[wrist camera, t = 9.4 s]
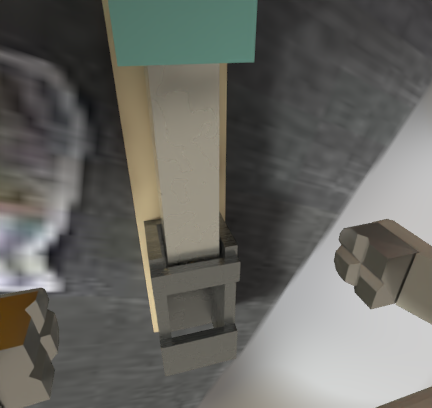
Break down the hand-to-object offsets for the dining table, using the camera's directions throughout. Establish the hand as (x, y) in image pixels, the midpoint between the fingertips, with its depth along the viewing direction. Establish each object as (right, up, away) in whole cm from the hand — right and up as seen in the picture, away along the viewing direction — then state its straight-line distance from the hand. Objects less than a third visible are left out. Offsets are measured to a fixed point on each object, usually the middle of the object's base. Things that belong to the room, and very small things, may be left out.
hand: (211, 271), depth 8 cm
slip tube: (-3, +5, +15) cm, 16 cm away
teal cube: (-3, +15, +12) cm, 19 cm away
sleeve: (-3, -5, +23) cm, 24 cm away
